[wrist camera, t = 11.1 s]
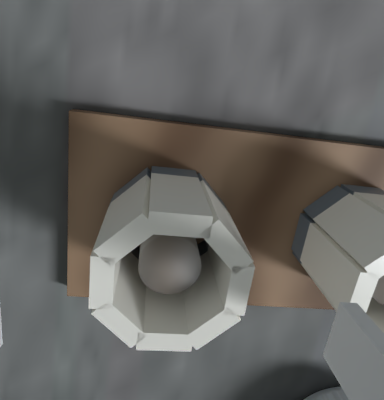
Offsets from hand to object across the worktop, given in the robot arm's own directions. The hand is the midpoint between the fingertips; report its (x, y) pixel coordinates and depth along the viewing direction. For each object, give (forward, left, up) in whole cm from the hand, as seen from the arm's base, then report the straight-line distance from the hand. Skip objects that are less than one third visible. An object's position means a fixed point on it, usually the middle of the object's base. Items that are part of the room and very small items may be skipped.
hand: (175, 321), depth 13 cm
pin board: (-6, 0, -10) cm, 11 cm away
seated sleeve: (-12, 0, -9) cm, 15 cm away
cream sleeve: (0, 0, -9) cm, 9 cm away
